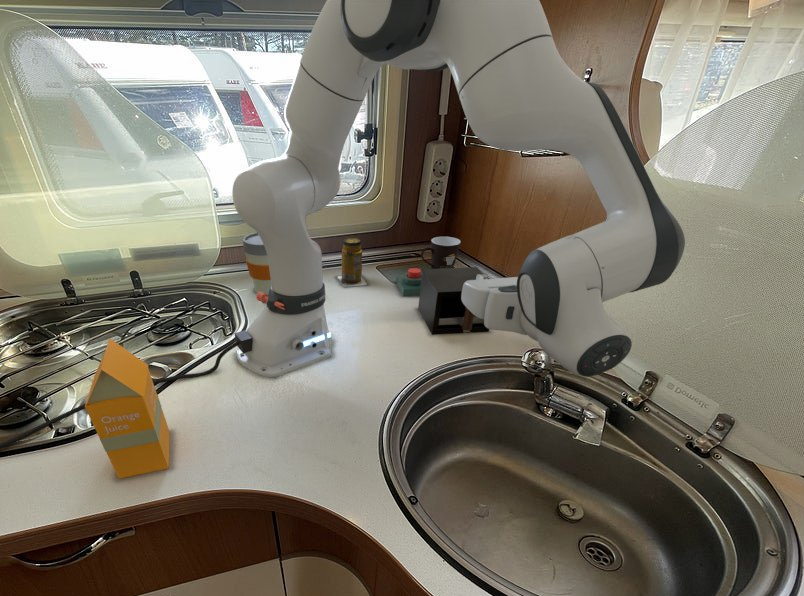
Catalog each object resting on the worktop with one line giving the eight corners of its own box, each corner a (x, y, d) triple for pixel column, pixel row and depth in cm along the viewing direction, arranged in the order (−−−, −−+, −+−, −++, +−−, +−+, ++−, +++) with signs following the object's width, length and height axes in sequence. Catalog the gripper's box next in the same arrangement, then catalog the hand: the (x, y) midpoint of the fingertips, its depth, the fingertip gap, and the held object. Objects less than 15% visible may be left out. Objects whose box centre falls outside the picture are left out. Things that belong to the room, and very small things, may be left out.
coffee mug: (453, 268, 136) (458, 236, 130) (457, 278, 129) (462, 245, 123) (417, 267, 137) (420, 236, 131) (418, 277, 130) (422, 245, 124)
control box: (430, 295, 119) (432, 281, 117) (402, 296, 119) (404, 283, 117) (422, 281, 127) (423, 268, 125) (395, 282, 127) (396, 269, 125)
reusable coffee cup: (286, 299, 118) (281, 246, 110) (243, 297, 120) (235, 244, 111) (296, 282, 128) (292, 231, 120) (256, 280, 130) (250, 230, 121)
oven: (488, 332, 102) (498, 289, 95) (431, 335, 101) (437, 292, 95) (469, 306, 113) (476, 266, 107) (417, 309, 112) (422, 269, 106)
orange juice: (117, 479, 66) (67, 374, 54) (124, 441, 73) (81, 341, 61) (170, 468, 68) (132, 364, 56) (171, 432, 75) (138, 333, 63)
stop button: (421, 279, 120) (422, 272, 119) (409, 279, 120) (409, 273, 118) (418, 274, 123) (419, 267, 121) (406, 274, 122) (407, 268, 121)
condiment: (359, 274, 133) (360, 236, 125) (367, 285, 126) (368, 244, 119) (337, 276, 131) (336, 238, 124) (343, 287, 125) (343, 247, 118)
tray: (491, 333, 97) (502, 283, 90) (443, 335, 97) (451, 285, 89) (467, 303, 110) (476, 257, 103) (425, 305, 110) (431, 259, 102)
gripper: (612, 283, 65) (563, 255, 77) (484, 292, 64) (453, 263, 75) (598, 320, 69) (554, 288, 80) (477, 330, 67) (449, 296, 79)
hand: (504, 276), depth 78 cm, fingers open, 8 cm apart
